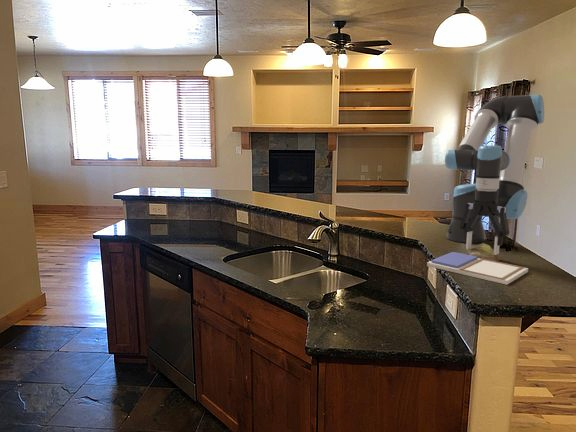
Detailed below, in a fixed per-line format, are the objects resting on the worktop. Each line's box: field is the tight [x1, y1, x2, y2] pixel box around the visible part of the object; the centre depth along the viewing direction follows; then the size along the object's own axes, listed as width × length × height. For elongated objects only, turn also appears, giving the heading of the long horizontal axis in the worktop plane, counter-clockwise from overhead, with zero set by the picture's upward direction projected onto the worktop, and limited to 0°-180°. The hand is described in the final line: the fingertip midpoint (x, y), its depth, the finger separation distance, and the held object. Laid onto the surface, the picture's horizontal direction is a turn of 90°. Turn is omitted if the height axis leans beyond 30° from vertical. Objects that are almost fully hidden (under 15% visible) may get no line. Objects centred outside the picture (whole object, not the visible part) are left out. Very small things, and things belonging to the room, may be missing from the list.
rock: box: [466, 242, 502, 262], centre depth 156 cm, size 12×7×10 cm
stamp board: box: [426, 251, 529, 286], centre depth 143 cm, size 17×26×2 cm, turn 43°
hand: (482, 251), depth 157 cm, fingers closed on rock, 9 cm apart
